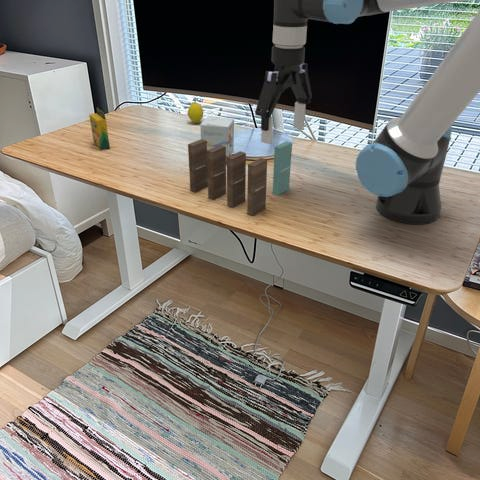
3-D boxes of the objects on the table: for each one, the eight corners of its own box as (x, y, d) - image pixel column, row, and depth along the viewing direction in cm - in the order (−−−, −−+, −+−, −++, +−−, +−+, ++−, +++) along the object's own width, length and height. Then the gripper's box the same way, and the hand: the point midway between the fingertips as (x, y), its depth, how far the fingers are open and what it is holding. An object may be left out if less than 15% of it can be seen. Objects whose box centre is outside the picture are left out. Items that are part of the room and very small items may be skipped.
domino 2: (226, 193, 128) (225, 146, 121) (213, 200, 124) (212, 152, 118) (221, 191, 129) (220, 144, 122) (208, 198, 125) (206, 150, 119)
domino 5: (289, 189, 130) (292, 142, 123) (278, 195, 127) (280, 148, 120) (283, 187, 131) (286, 141, 124) (272, 193, 128) (274, 146, 121)
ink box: (228, 164, 144) (228, 126, 138) (200, 162, 145) (199, 124, 139) (234, 154, 151) (234, 116, 145) (208, 152, 153) (206, 114, 146)
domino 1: (208, 186, 131) (206, 140, 124) (195, 192, 128) (193, 146, 121) (203, 184, 132) (201, 138, 125) (190, 190, 129) (187, 144, 122)
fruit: (190, 126, 173) (189, 104, 169) (186, 121, 177) (185, 99, 173) (205, 125, 174) (204, 102, 170) (201, 120, 179) (200, 98, 175)
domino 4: (265, 208, 121) (267, 159, 114) (253, 216, 117) (254, 166, 110) (259, 206, 122) (261, 157, 115) (247, 213, 118) (247, 164, 112)
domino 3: (245, 201, 124) (246, 153, 117) (232, 208, 121) (232, 159, 114) (239, 198, 125) (240, 151, 118) (227, 205, 122) (226, 157, 115)
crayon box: (93, 143, 158) (87, 108, 152) (102, 142, 159) (97, 106, 153) (101, 150, 153) (95, 114, 147) (110, 148, 154) (105, 112, 148)
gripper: (305, 35, 120) (298, 119, 131) (240, 51, 104) (239, 145, 115) (331, 39, 116) (322, 126, 127) (268, 56, 100) (264, 153, 111)
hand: (283, 135), depth 121 cm, fingers open, 13 cm apart
